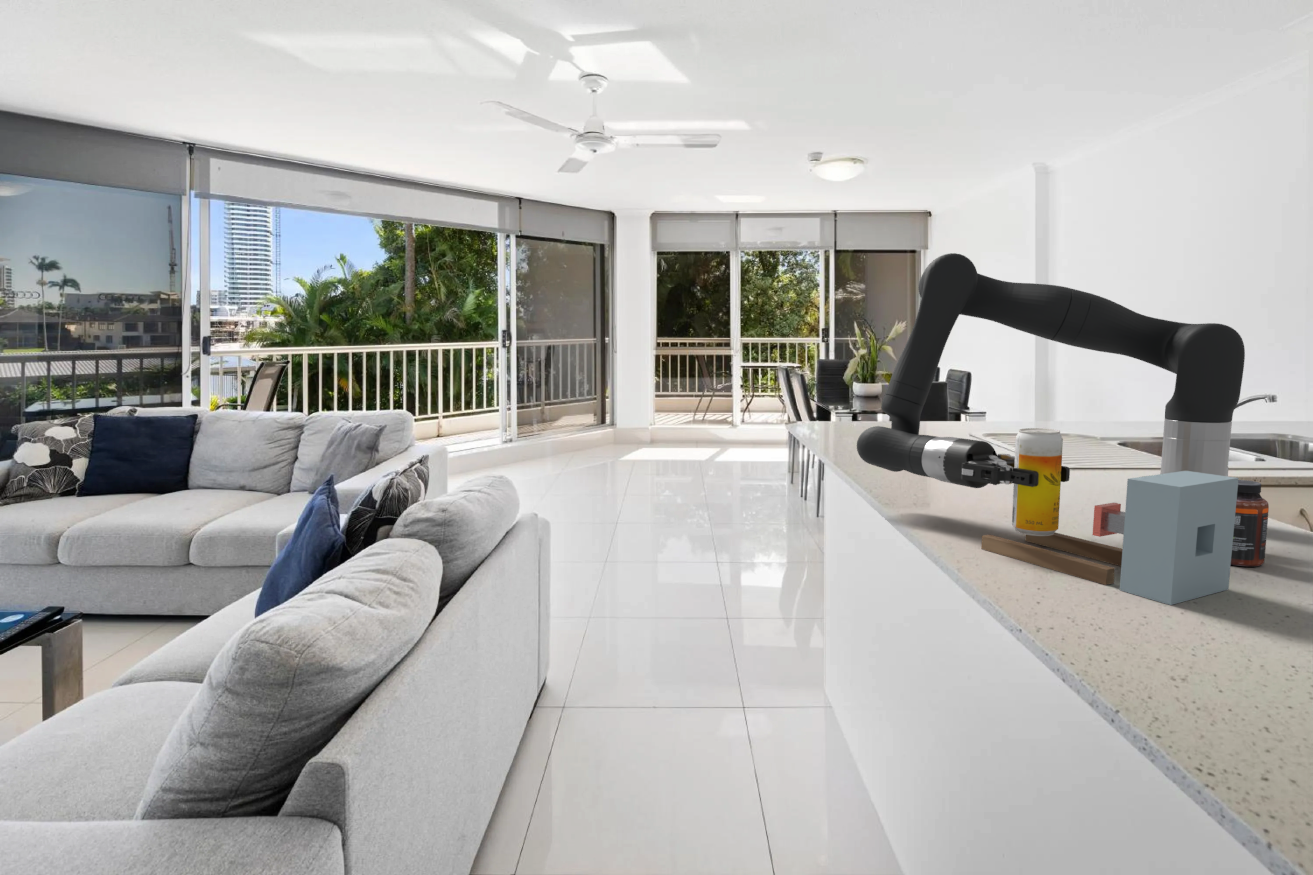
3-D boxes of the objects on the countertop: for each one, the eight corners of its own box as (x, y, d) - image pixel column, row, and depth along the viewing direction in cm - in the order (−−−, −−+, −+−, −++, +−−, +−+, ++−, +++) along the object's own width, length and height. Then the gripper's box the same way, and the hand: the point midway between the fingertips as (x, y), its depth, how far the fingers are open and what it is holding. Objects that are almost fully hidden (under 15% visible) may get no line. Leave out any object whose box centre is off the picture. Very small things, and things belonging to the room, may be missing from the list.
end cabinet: (1172, 575, 99) (1181, 470, 97) (1228, 589, 93) (1238, 478, 91) (1115, 588, 93) (1123, 478, 92) (1170, 604, 88) (1180, 486, 86)
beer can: (1063, 537, 107) (1069, 433, 105) (1017, 536, 108) (1022, 433, 106) (1050, 527, 113) (1055, 427, 111) (1007, 525, 114) (1011, 427, 112)
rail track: (1032, 539, 117) (1032, 527, 116) (1159, 572, 100) (1160, 557, 100) (981, 548, 112) (981, 535, 112) (1105, 584, 95) (1106, 569, 95)
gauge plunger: (1111, 531, 102) (1113, 502, 101) (1191, 549, 93) (1193, 517, 92) (1092, 535, 100) (1094, 505, 99) (1171, 553, 91) (1174, 521, 90)
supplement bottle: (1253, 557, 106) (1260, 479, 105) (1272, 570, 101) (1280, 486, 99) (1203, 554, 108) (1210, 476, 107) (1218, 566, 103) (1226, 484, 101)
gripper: (926, 441, 118) (1019, 455, 103) (990, 434, 125) (1086, 446, 110) (925, 488, 119) (1017, 508, 104) (988, 479, 126) (1084, 497, 111)
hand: (1052, 476), depth 107 cm, fingers closed on beer can, 6 cm apart
